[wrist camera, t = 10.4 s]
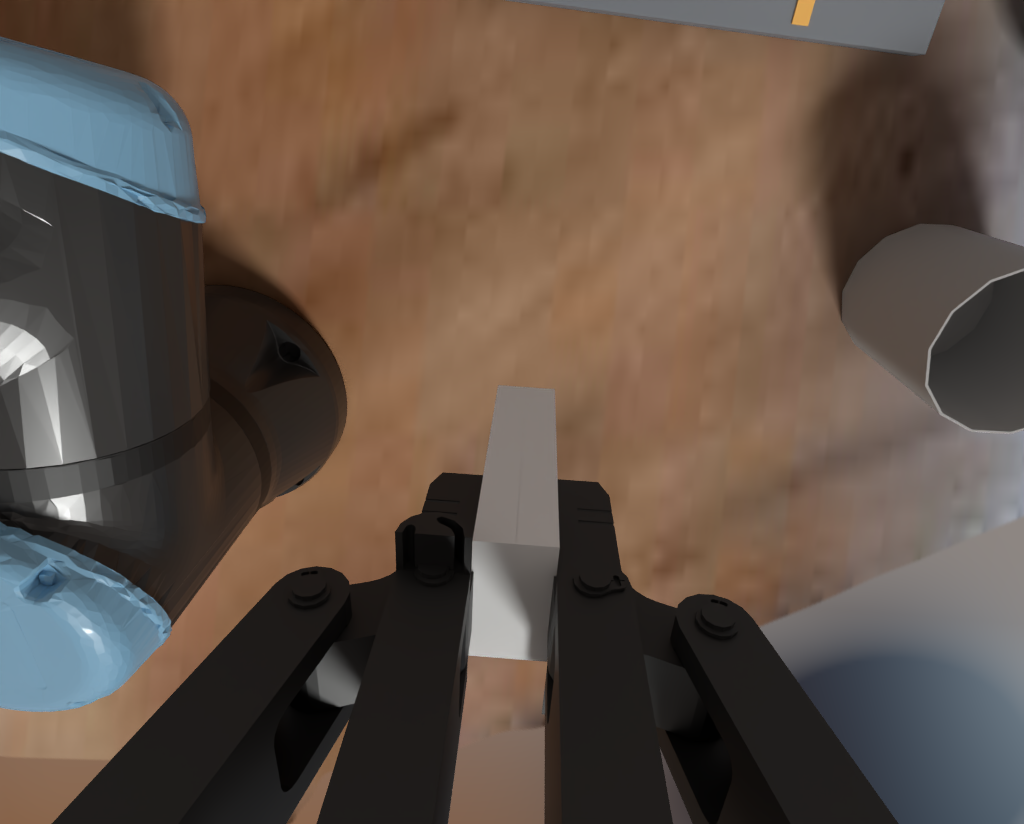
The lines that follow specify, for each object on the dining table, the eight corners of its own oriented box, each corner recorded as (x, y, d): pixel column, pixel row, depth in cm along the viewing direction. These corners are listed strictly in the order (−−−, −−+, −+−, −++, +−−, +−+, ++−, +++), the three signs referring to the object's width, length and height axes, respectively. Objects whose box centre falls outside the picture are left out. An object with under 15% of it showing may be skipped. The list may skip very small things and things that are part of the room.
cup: (886, 205, 36) (994, 239, 27) (1020, 244, 36) (1171, 290, 27) (817, 340, 39) (891, 410, 30) (939, 374, 40) (1048, 453, 31)
